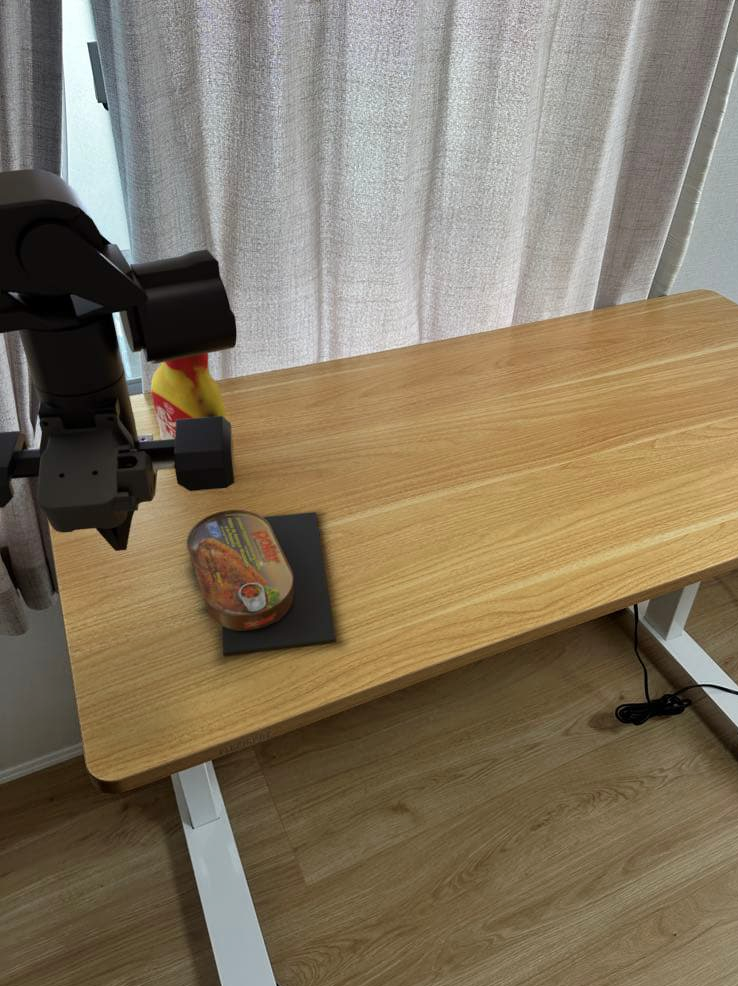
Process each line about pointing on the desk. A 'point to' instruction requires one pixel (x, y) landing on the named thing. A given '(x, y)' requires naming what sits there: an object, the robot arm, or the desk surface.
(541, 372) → the desk surface
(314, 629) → the mat
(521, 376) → the desk surface
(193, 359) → the bottle
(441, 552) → the desk surface
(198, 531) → the tin
